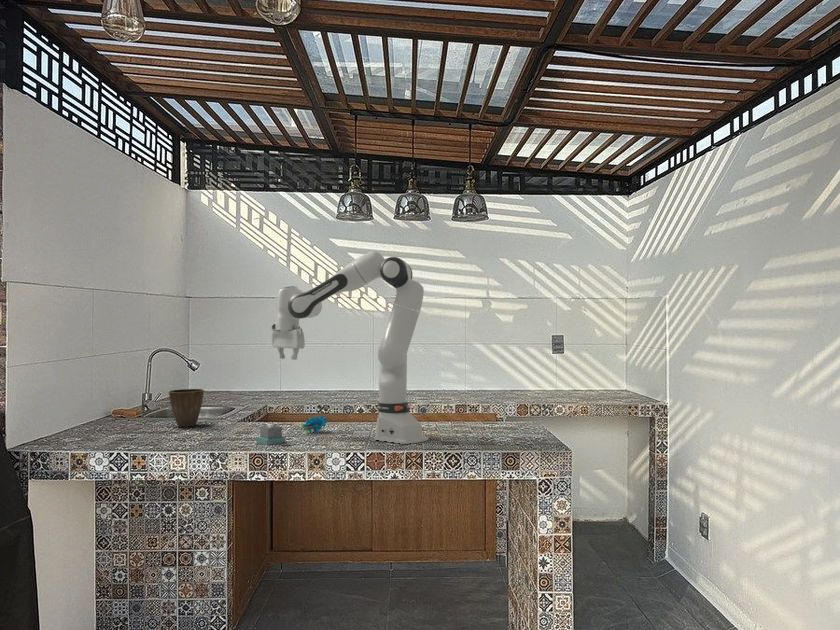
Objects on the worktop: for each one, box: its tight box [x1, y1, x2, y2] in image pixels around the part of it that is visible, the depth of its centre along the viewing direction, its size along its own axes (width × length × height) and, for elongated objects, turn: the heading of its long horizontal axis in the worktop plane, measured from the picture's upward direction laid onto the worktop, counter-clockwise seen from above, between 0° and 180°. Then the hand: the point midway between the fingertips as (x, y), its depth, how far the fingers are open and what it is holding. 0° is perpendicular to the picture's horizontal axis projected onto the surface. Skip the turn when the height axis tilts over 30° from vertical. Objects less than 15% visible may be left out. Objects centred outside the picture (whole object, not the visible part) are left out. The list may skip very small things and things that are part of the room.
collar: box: [259, 424, 283, 439], centre depth 252 cm, size 6×6×4 cm
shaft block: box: [255, 423, 286, 446], centre depth 252 cm, size 8×8×7 cm
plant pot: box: [168, 388, 205, 428], centre depth 292 cm, size 15×15×16 cm
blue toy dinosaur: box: [300, 415, 328, 435], centre depth 272 cm, size 11×6×10 cm
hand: (288, 359), depth 269 cm, fingers open, 8 cm apart
